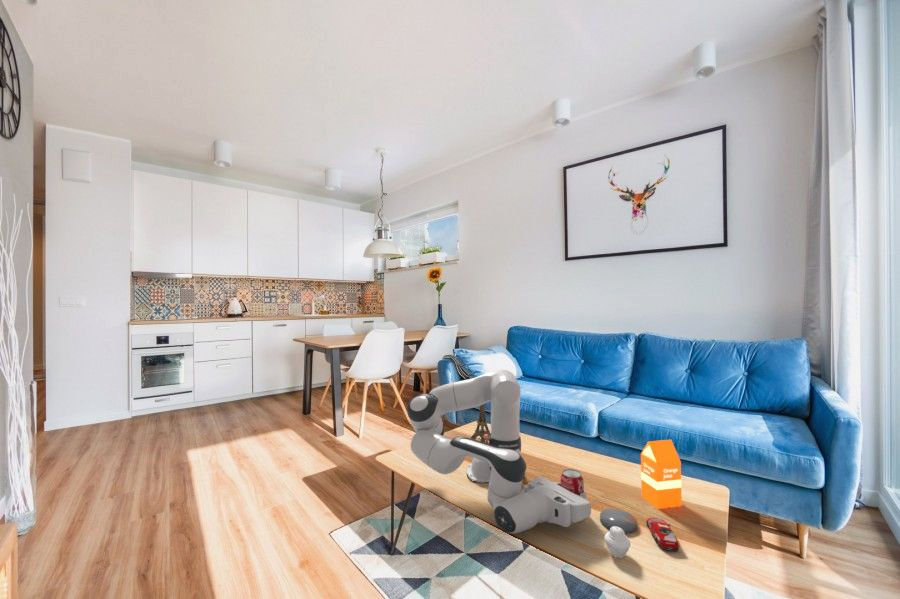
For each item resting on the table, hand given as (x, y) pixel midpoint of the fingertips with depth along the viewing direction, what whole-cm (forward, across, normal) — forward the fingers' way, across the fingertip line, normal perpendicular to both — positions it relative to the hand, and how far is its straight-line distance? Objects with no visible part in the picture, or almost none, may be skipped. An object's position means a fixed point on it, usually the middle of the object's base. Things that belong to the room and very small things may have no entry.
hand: (575, 489), depth 117 cm
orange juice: (+28, +12, -7) cm, 31 cm away
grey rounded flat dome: (+5, +11, -7) cm, 14 cm away
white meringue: (-7, +19, -7) cm, 22 cm away
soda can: (-1, 0, -7) cm, 7 cm away
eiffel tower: (+10, -63, -7) cm, 64 cm away
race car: (+10, +22, -7) cm, 25 cm away
